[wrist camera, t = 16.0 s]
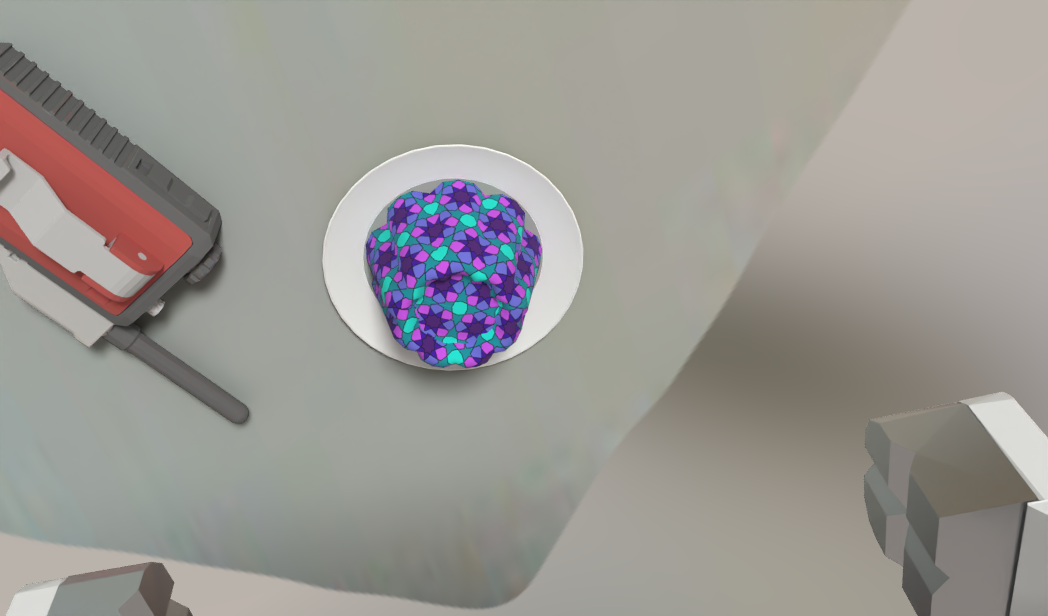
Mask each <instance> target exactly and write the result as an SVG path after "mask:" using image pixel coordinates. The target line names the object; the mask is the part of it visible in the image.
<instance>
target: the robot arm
mask: <svg viewBox="0 0 1048 616" xmlns="http://www.w3.org/2000/svg"><path fill="white" fill-rule="evenodd" d="M865 448H866V449H867V451H868V453H869V455H870V456H871V458H872V460H873V461H874V464H873V465H872V466H871V468H870V469H869V470H868V471H867V473H866V474H865V475H864V498H865V503H866V508H867V513H868V517H869V521H870V524H871V527H872V529H873V532H874V535H875V537H876V539H877V541H878V543H879V545H880V547H881V549H882V551H883V553H884V555H885V556H886V557H888V558H889V559H891V560H893V561H895V562H896V563H898V564H900V565H901V566H903V583H902V588H903V590H904V592H905V593H906V595H907V597H908V599H909V601H910V603H911V604H912V606H913V608H914V610H915V612H916V614H917V615H918V616H1048V438H1047V437H1046V435H1045V434H1044V433H1043V432H1042V431H1041V430H1040V428H1039V427H1038V426H1037V425H1036V424H1035V423H1034V421H1033V420H1032V419H1031V418H1030V417H1029V416H1028V414H1027V413H1026V412H1025V411H1024V410H1023V409H1022V407H1021V406H1020V405H1019V404H1018V403H1017V402H1016V400H1015V399H1014V398H1013V397H1012V396H1010V395H1008V394H1006V393H1004V392H1000V393H995V394H990V395H985V396H981V397H976V398H971V399H967V400H962V401H958V402H957V403H949V404H944V405H939V406H934V407H929V408H924V409H920V410H915V411H910V412H905V413H901V414H895V415H891V416H886V417H881V418H876V419H871V420H869V422H868V425H867V427H866V432H865ZM173 585H174V581H173V580H172V578H171V577H170V575H169V573H168V572H167V570H166V569H165V567H164V565H163V564H162V563H156V562H149V563H143V564H137V565H131V566H125V567H120V568H114V569H108V570H102V571H96V572H91V573H85V574H79V575H73V576H69V577H68V578H62V579H57V580H50V581H44V582H38V583H32V584H26V585H25V586H24V587H23V588H22V589H20V590H19V591H18V592H17V593H16V594H15V595H14V597H13V599H12V601H11V604H10V606H9V608H8V611H7V613H6V615H5V616H193V615H192V613H191V612H190V610H189V608H187V607H185V606H183V605H181V604H179V603H177V602H175V601H173V600H171V599H170V597H171V593H172V589H173Z"/></svg>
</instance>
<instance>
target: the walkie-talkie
mask: <svg viewBox="0 0 1048 616" xmlns="http://www.w3.org/2000/svg"><path fill="white" fill-rule="evenodd" d="M24 55H25V54H24V53H22V52H18V51H16V50H15V49H14V48H13V47H12V44H11V43H0V265H1V267H2V269H3V271H4V274H5V276H6V278H7V281H8V283H9V285H10V288H11V290H12V292H13V293H14V294H15V295H16V296H18V297H19V298H21V299H22V300H24V301H25V302H27V303H28V304H30V305H31V306H33V307H34V308H36V309H37V310H39V311H40V312H42V313H43V314H45V315H46V316H47V317H49V318H50V319H52V320H53V321H55V322H56V323H58V324H59V325H61V326H62V327H64V328H65V329H67V330H68V331H70V332H71V333H73V335H74V337H75V339H76V340H78V341H79V342H81V343H82V344H84V345H86V346H87V347H90V346H92V345H93V344H94V343H95V342H96V341H97V340H98V339H99V338H100V337H101V336H102V337H103V338H105V339H106V340H108V341H109V342H110V343H112V344H113V345H115V346H116V347H118V348H119V349H120V350H127V351H129V352H130V353H132V354H133V355H135V356H136V357H138V358H139V359H141V360H142V361H144V362H145V363H146V364H148V365H149V366H151V367H152V368H154V369H155V370H157V371H158V372H160V373H161V374H163V375H164V376H166V377H167V378H168V379H170V380H171V381H173V382H174V383H176V384H177V385H179V386H180V387H182V388H183V389H185V390H186V391H187V392H189V393H190V394H192V395H193V396H195V397H196V398H198V399H199V400H201V401H202V402H204V403H205V404H206V405H208V406H209V407H211V408H212V409H214V410H215V411H217V412H218V413H220V414H221V415H223V416H224V417H225V418H227V419H228V420H230V421H231V422H233V423H238V424H239V423H242V422H244V421H245V420H246V419H247V417H248V414H249V410H248V408H247V406H246V405H244V404H243V403H242V402H240V401H239V400H237V399H236V398H234V397H233V396H231V395H230V394H229V393H227V392H226V391H224V390H223V389H221V388H220V387H219V386H217V385H216V384H214V383H213V382H211V381H210V380H208V379H207V378H206V377H204V376H203V375H201V374H200V373H198V372H197V371H196V370H194V369H193V368H191V367H190V366H188V365H187V364H185V363H184V362H183V361H181V360H180V359H178V358H177V357H175V356H174V355H173V354H171V353H170V352H168V351H167V350H165V349H164V348H162V347H161V346H160V345H158V344H157V343H155V342H154V341H152V340H151V339H150V338H148V337H147V336H145V335H144V334H142V333H141V330H140V327H138V326H137V325H136V324H134V323H133V322H134V321H136V320H137V319H138V318H139V317H140V316H141V315H142V314H144V313H146V312H148V313H149V314H151V315H152V316H155V315H157V314H158V313H159V312H160V311H161V309H162V308H163V306H164V304H165V301H163V300H162V299H161V298H160V297H161V296H162V295H164V294H165V293H166V292H167V291H168V290H169V289H170V288H171V287H172V286H173V285H174V284H175V283H176V282H177V281H179V280H180V279H181V278H182V277H183V276H184V280H185V281H187V282H188V283H189V284H195V283H197V282H199V281H201V280H202V279H203V278H204V277H205V276H206V275H207V274H208V273H209V272H210V271H211V269H212V268H213V267H214V266H215V264H216V263H217V261H218V260H219V258H220V256H221V253H222V251H221V247H220V246H219V245H217V244H216V243H214V242H215V239H216V236H217V234H218V231H219V228H220V225H221V223H222V220H221V216H220V213H219V211H218V210H217V209H216V208H215V207H213V206H212V205H211V204H210V203H208V202H207V201H206V200H205V199H204V198H202V197H201V196H200V195H199V194H197V193H196V192H195V191H194V190H192V189H191V188H190V187H189V186H187V185H186V184H185V183H184V182H182V181H181V180H180V179H179V178H177V177H176V176H175V175H174V174H173V173H171V172H170V171H169V170H168V169H166V168H165V167H164V166H163V165H161V164H160V163H159V162H158V161H156V160H155V159H154V158H153V157H151V156H150V155H149V154H148V153H146V152H145V151H144V150H143V149H141V148H140V147H139V146H138V145H137V144H136V145H133V144H132V143H131V142H129V141H128V139H129V138H128V137H127V136H124V137H123V136H122V135H121V134H120V133H118V132H117V130H118V129H117V128H115V127H113V128H112V127H111V126H110V125H108V124H107V123H106V121H107V120H105V119H104V118H102V119H101V118H100V117H98V116H97V115H96V114H95V111H94V110H93V109H88V108H87V107H86V106H85V105H83V104H84V102H83V101H82V100H77V99H76V98H75V97H73V96H72V92H71V91H69V90H68V91H66V90H65V89H64V88H62V87H61V86H60V84H61V83H60V82H58V81H54V80H52V79H51V78H50V77H49V76H48V75H49V74H48V73H47V72H46V71H44V72H42V71H41V70H40V69H39V68H37V67H36V65H37V64H36V63H35V62H30V61H29V60H27V59H26V58H25V57H24Z"/></svg>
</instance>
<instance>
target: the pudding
mask: <svg viewBox="0 0 1048 616" xmlns="http://www.w3.org/2000/svg"><path fill="white" fill-rule="evenodd" d="M456 178H459V179H468V180H475V181H479V182H482V183H486V184H489V185H492V186H494V187H496V188H498V189H500V190H502V191H504V192H506V193H507V194H508V195H510V196H511V197H513V198H514V199H515V200H517V201H518V202H519V203H520V204H521V205H522V206H523V207H524V208H525V209H526V211H527V212H528V213H529V215H530V216H531V218H532V219H533V221H534V222H535V224H536V227H537V229H538V232H539V234H540V237H541V242H542V248H543V264H542V268H541V273H540V277H539V279H538V282H537V284H536V286H535V289H534V290H533V288H534V284H535V280H536V276H537V273H538V269H539V265H540V259H541V253H542V248H541V245H540V243H539V240H538V237H537V236H535V235H534V234H532V233H531V232H529V231H528V230H526V229H524V220H525V213H524V211H523V210H522V209H521V207H520V206H519V205H518V203H517V202H516V201H514V200H512V199H511V198H509V197H507V196H505V195H503V194H500V195H487V196H485V195H484V194H483V193H482V192H481V190H480V189H479V188H478V187H477V186H476V185H475V184H474V183H470V182H466V181H461V180H454V181H448V182H442V183H441V184H440V185H439V186H438V187H437V188H436V189H435V190H433V191H432V192H431V193H430V194H429V193H422V192H415V191H411V192H409V193H407V194H405V195H402V196H400V197H398V198H397V199H396V200H395V201H394V202H393V203H392V204H391V205H390V207H389V208H388V213H387V224H386V225H384V226H382V227H380V228H378V229H377V230H375V231H373V232H372V233H371V235H370V237H369V239H368V241H367V244H366V256H367V261H368V263H369V266H370V268H371V271H372V273H373V276H374V280H373V282H372V286H373V288H374V291H375V293H376V296H377V298H378V299H377V298H376V297H375V295H374V293H373V292H372V290H371V288H370V286H369V284H368V281H367V278H366V275H365V271H364V262H363V254H364V244H365V241H366V237H367V234H368V231H369V229H370V227H371V225H372V223H373V222H374V220H375V218H376V217H377V215H378V214H379V213H380V212H381V210H382V209H383V208H384V207H385V206H386V205H387V204H388V203H389V202H391V201H392V200H393V199H394V198H395V197H396V196H398V195H400V194H401V193H403V192H405V191H406V190H408V189H410V188H412V187H415V186H417V185H420V184H423V183H425V182H430V181H435V180H440V179H456ZM322 263H323V271H324V278H325V283H326V286H327V289H328V292H329V295H330V298H331V301H332V302H333V304H334V306H335V308H336V309H337V311H338V313H339V315H340V316H341V318H342V319H343V320H344V321H345V323H346V324H347V325H348V326H349V327H350V328H351V330H352V331H353V332H354V333H355V334H356V335H357V336H359V337H360V338H361V339H362V340H363V341H365V342H366V343H367V344H368V345H369V346H371V347H373V348H374V349H376V350H378V351H379V352H381V353H383V354H385V355H386V356H388V357H391V358H393V359H396V360H398V361H401V362H403V363H406V364H409V365H413V366H418V367H422V368H426V369H436V370H448V371H451V370H469V369H475V368H480V367H485V366H490V365H493V364H496V363H499V362H501V361H504V360H507V359H510V358H512V357H514V356H516V355H518V354H520V353H521V352H523V351H525V350H527V349H529V348H530V347H532V346H533V345H534V344H536V343H537V342H538V341H540V340H541V339H542V338H544V337H545V336H546V335H547V334H548V333H549V332H550V331H551V330H552V329H553V328H554V327H555V326H556V325H557V324H558V323H559V321H560V320H561V318H562V317H563V315H564V314H565V313H566V311H567V310H568V308H569V307H570V305H571V303H572V300H573V298H574V296H575V294H576V291H577V289H578V286H579V282H580V278H581V273H582V269H583V245H582V239H581V233H580V229H579V226H578V224H577V221H576V218H575V216H574V213H573V211H572V209H571V208H570V206H569V204H568V203H567V201H566V200H565V198H564V196H563V195H562V193H561V192H560V191H559V190H558V189H557V188H556V187H555V186H554V185H553V184H552V183H551V182H550V181H549V179H548V178H547V177H545V176H544V175H543V174H541V173H540V172H538V171H537V170H536V169H534V168H533V167H532V166H530V165H529V164H527V163H525V162H523V161H521V160H519V159H517V158H515V157H513V156H511V155H509V154H506V153H503V152H499V151H496V150H492V149H489V148H486V147H478V146H470V145H462V144H457V145H436V146H431V147H426V148H421V149H416V150H412V151H409V152H407V153H404V154H402V155H399V156H396V157H394V158H391V159H389V160H387V161H386V162H384V163H382V164H381V165H379V166H377V167H376V168H374V169H372V170H371V171H369V172H368V173H367V174H366V175H365V176H364V177H362V178H361V179H360V180H359V181H358V182H357V183H356V184H354V185H353V186H352V188H351V189H350V190H349V191H348V193H347V194H346V195H345V196H344V198H343V199H342V200H341V201H340V203H339V204H338V206H337V208H336V210H335V212H334V214H333V216H332V218H331V220H330V222H329V225H328V229H327V232H326V236H325V239H324V245H323V259H322Z"/></svg>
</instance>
